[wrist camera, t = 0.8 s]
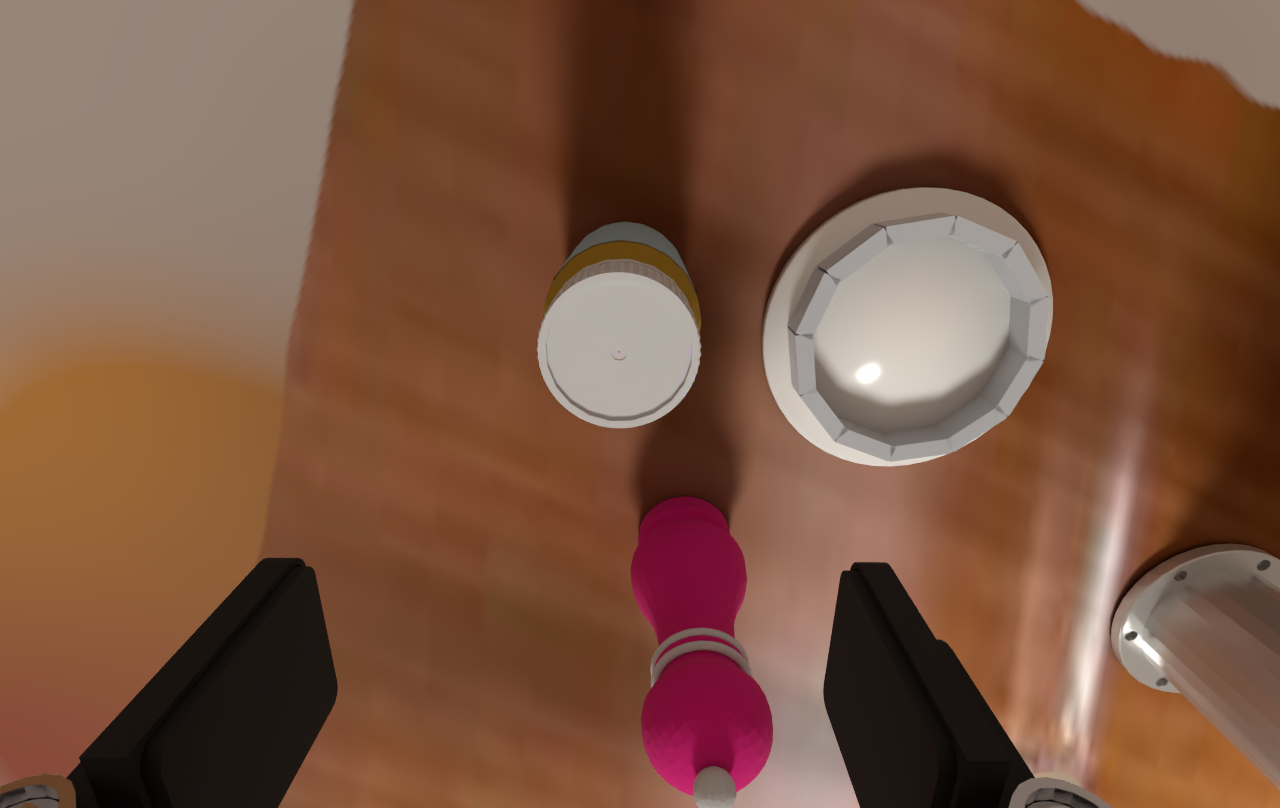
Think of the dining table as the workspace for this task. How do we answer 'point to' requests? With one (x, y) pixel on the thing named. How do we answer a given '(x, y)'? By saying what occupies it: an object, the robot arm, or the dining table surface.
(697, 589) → the pepper mill
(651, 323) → the bottle
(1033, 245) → the collar base
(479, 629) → the dining table surface
